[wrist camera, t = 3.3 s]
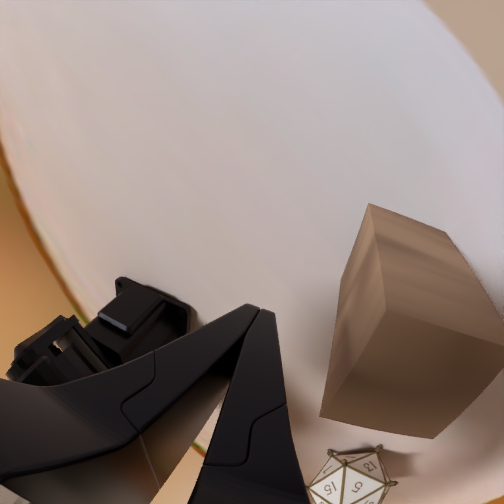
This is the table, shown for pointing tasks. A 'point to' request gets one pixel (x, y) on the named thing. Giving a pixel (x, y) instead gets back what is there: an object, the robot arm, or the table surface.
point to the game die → (351, 480)
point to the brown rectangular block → (409, 331)
